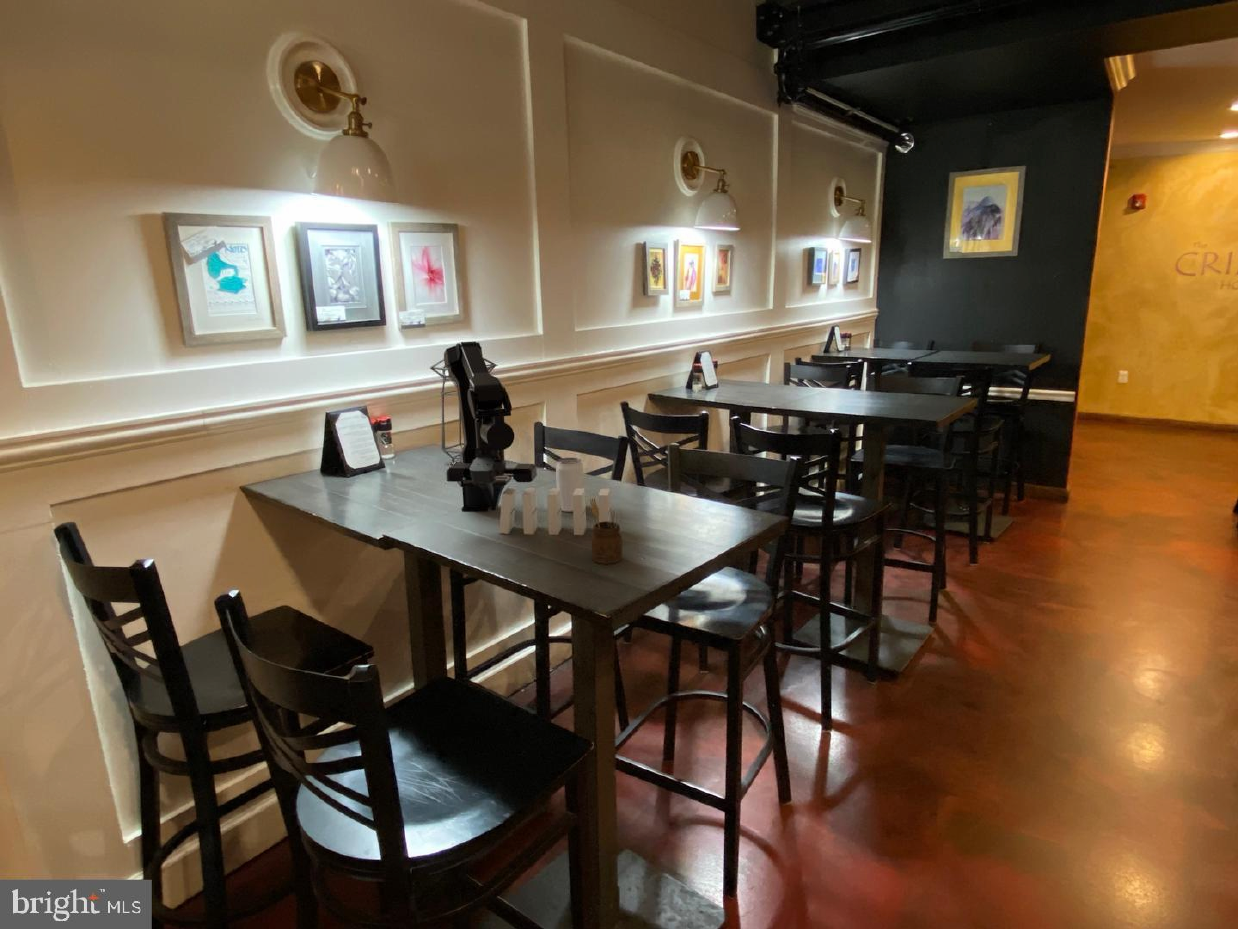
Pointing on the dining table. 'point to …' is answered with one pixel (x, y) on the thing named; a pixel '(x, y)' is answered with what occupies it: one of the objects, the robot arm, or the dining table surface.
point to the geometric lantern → (491, 367)
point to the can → (569, 480)
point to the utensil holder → (606, 539)
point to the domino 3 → (554, 511)
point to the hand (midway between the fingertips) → (494, 510)
